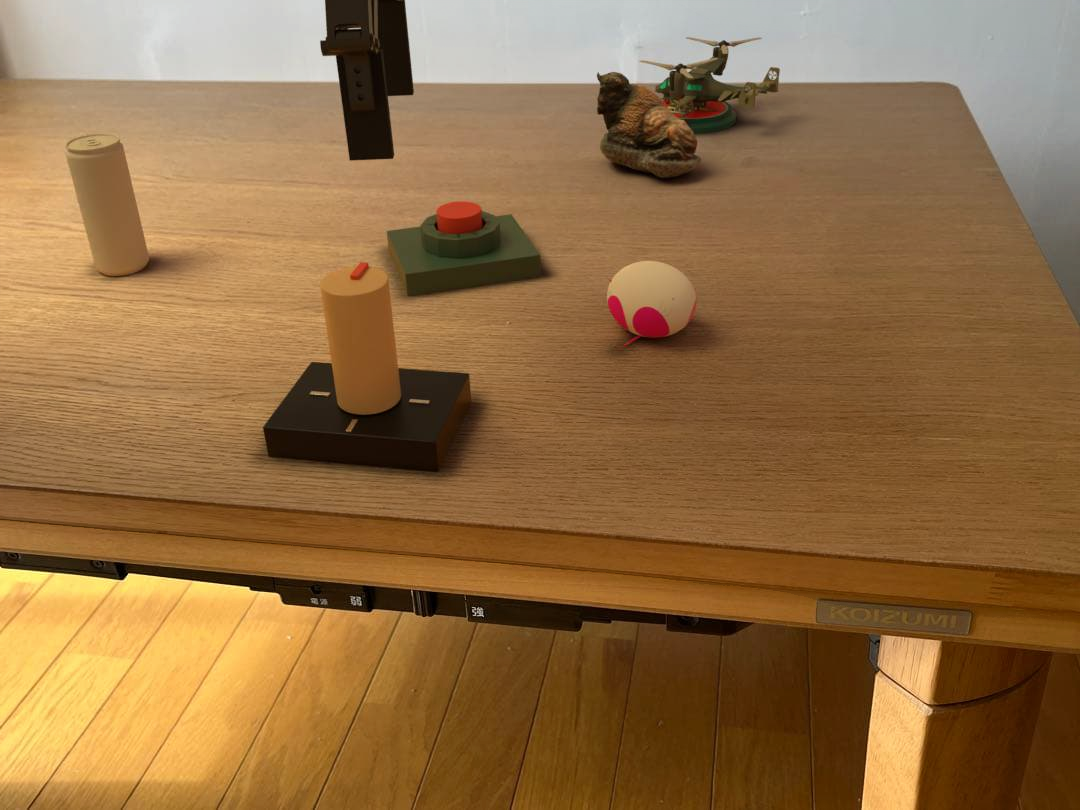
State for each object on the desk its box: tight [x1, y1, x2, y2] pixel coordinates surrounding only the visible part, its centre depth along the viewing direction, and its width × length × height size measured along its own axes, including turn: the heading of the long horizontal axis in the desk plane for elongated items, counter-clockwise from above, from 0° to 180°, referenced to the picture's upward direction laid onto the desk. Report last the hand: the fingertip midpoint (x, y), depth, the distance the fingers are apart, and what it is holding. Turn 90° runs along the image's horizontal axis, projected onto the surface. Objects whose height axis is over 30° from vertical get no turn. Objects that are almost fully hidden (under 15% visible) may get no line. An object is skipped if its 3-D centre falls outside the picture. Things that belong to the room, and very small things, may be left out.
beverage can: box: [64, 132, 150, 277], centre depth 100 cm, size 5×5×12 cm
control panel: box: [262, 361, 472, 473], centre depth 77 cm, size 12×9×3 cm
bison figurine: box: [596, 71, 702, 179], centre depth 118 cm, size 12×7×10 cm, turn 56°
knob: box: [319, 261, 401, 415], centre depth 74 cm, size 4×4×9 cm
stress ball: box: [606, 260, 697, 349], centre depth 88 cm, size 8×8×7 cm
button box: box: [386, 210, 542, 297], centre depth 100 cm, size 12×10×4 cm
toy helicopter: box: [638, 36, 781, 135], centre depth 132 cm, size 20×15×8 cm
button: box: [436, 200, 483, 234], centre depth 99 cm, size 4×4×2 cm
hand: (384, 124), depth 75 cm, fingers open, 13 cm apart
